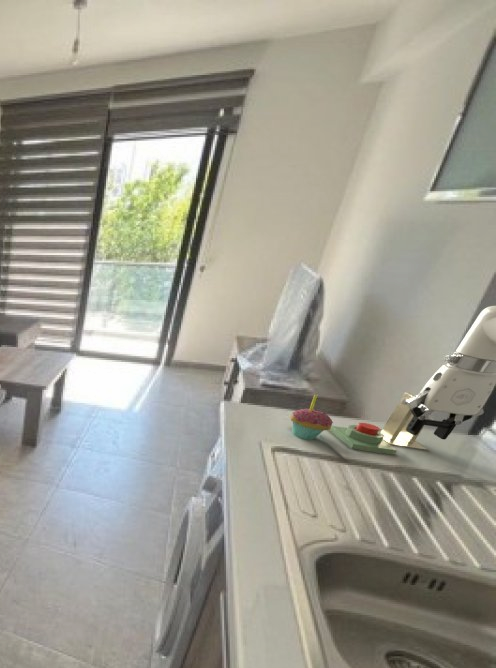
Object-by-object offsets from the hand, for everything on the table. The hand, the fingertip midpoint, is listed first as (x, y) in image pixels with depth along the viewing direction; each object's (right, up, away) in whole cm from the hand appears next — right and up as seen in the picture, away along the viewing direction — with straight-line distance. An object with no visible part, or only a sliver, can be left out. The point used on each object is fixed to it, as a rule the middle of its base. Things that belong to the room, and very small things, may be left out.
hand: (425, 434), depth 116 cm
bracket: (+2, -2, +9) cm, 9 cm away
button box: (-11, -3, +6) cm, 12 cm away
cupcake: (-22, 0, +9) cm, 24 cm away
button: (-10, +1, +4) cm, 11 cm away
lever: (+1, +4, +2) cm, 5 cm away
